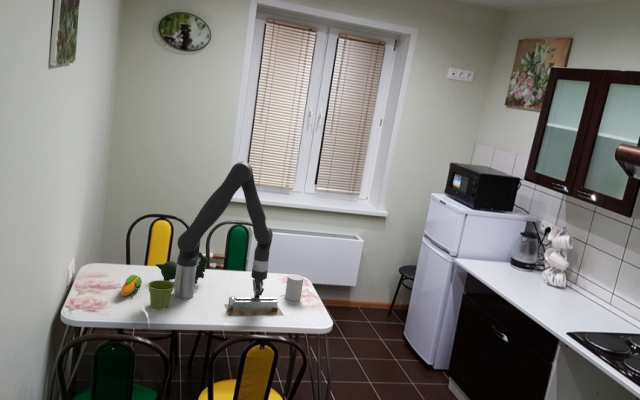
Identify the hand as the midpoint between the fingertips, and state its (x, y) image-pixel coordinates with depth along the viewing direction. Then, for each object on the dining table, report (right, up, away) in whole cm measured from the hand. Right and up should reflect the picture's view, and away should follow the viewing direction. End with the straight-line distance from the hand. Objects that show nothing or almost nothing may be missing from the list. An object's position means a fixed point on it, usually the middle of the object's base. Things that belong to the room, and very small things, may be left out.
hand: (256, 301), depth 263 cm
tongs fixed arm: (-1, -3, -5) cm, 6 cm away
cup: (+17, -2, +18) cm, 25 cm away
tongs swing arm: (0, -3, -3) cm, 4 cm away
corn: (-60, +4, -4) cm, 60 cm away
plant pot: (-42, 0, -15) cm, 45 cm away
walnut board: (-1, -4, -4) cm, 6 cm away
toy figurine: (-42, +6, +18) cm, 46 cm away
